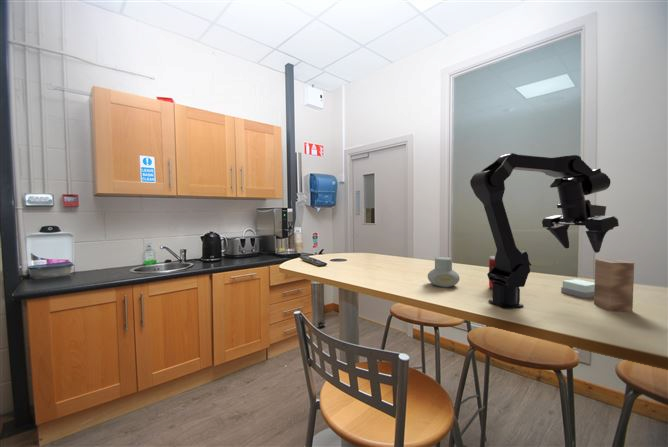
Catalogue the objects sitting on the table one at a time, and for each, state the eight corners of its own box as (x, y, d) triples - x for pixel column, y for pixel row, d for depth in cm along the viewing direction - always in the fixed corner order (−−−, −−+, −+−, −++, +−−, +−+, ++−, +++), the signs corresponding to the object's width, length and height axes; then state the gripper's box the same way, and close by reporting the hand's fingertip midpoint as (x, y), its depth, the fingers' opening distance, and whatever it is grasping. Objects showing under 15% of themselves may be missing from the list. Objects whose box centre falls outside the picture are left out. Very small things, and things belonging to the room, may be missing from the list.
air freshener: (457, 283, 109) (457, 256, 109) (461, 289, 101) (461, 260, 101) (426, 281, 112) (426, 256, 111) (428, 287, 103) (428, 259, 103)
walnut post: (609, 310, 78) (611, 262, 77) (594, 304, 83) (595, 259, 83) (632, 311, 77) (634, 263, 77) (615, 304, 83) (616, 259, 82)
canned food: (507, 286, 104) (507, 255, 103) (519, 292, 96) (519, 259, 96) (484, 285, 105) (485, 255, 104) (495, 292, 97) (495, 259, 96)
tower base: (585, 300, 89) (585, 293, 89) (561, 293, 96) (561, 287, 95) (600, 297, 91) (600, 290, 91) (575, 291, 98) (576, 285, 98)
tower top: (585, 292, 89) (585, 285, 89) (562, 287, 95) (562, 280, 95) (599, 290, 91) (600, 283, 91) (576, 285, 97) (576, 279, 97)
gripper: (631, 190, 77) (641, 247, 78) (566, 194, 95) (575, 240, 96) (595, 200, 75) (605, 258, 77) (536, 202, 94) (545, 248, 95)
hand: (581, 250), depth 86 cm, fingers open, 9 cm apart
